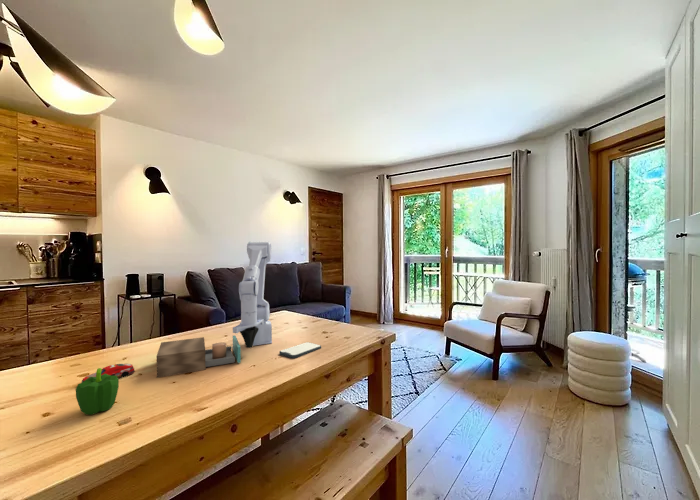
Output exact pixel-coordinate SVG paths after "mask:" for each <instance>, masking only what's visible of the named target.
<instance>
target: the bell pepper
mask: <svg viewBox="0 0 700 500" xmlns="http://www.w3.org/2000/svg"><path fill="white" fill-rule="evenodd" d="M102 369H103V367H102V368H101V367H98V368H96V372H95V373H96V377H89V378H88V379H86V380H85V381H84V382H82V381H81V382H80V383H77V386H76V387H75V399H76V401H77V404H78V407H79V409H80V411H81V412H82V413H83V414H84V415H86V416H91V415H95V414H98V413H99V412H105V411H109V410H110V409H112V407H114V405H115V402H116V399H117V395H118V391H119V385H120V383H119V382H120V381H119V379H120V378H118V377H117V376H111V375H108V374H103V375H101V370H102Z"/></svg>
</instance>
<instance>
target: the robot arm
mask: <svg viewBox="0 0 700 500" xmlns="http://www.w3.org/2000/svg"><path fill="white" fill-rule="evenodd" d="M246 253H247V256H248V259H249V265H248V266H247V267H246V268H245V270H244V274H243V278H242V280H241V281H240V282H239V284H238V293H239V295H238V296H239V301H240V321H241V322H239V324H237V325H235V326H233V327H232V333H233V334H238V333H240V334H241V337H242V338H243V341H244V345H245V348H247V349H251V348H253V346H260V345H266V344H267V345H268V344H272V343H273V337H272V336H273V333H272V330H273V328H272V322H271V320H270V315H271V314H270V313H271V311H270V304H269V301H267V300H266V299H264V296H265V294H264V293H265V281H266V280H265V279H266V268H267V264H268V263H269V262H271V259H272V243H271V242H270V241H248V243H247V244H246Z"/></svg>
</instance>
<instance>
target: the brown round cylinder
mask: <svg viewBox="0 0 700 500" xmlns="http://www.w3.org/2000/svg"><path fill="white" fill-rule="evenodd" d="M226 347H227V342H215V343H213V344H212V345H211V349H212V358H213V359H220V358H225V357H226V356H227V351H226Z"/></svg>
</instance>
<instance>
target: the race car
mask: <svg viewBox="0 0 700 500" xmlns="http://www.w3.org/2000/svg"><path fill="white" fill-rule="evenodd" d="M134 373H135V367H134V365H133V364H131V363H114V364H110V365H107V366H105V367H102V370H101V375H103V374H108V375H111V376H117V377H118V379H120V378H122V377H123V378H126V376H127V377H128V376H130V375H132V374H134ZM89 377H96V372H93V373H91V374H88V375H86V376H85V377H83V378H82V380H81V383H82V382H84V381H85V380H86V379H88V378H89Z"/></svg>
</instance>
